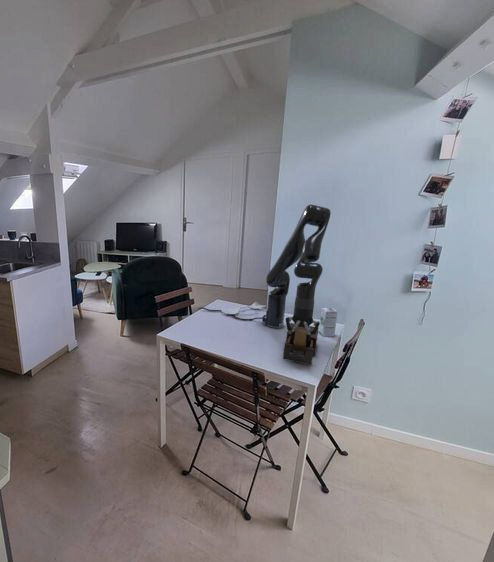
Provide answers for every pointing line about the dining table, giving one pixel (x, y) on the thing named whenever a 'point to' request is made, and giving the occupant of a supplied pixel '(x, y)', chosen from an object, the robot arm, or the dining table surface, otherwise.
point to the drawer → (298, 352)
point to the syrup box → (328, 321)
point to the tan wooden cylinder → (300, 337)
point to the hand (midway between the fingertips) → (300, 340)
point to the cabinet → (310, 337)
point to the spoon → (235, 311)
